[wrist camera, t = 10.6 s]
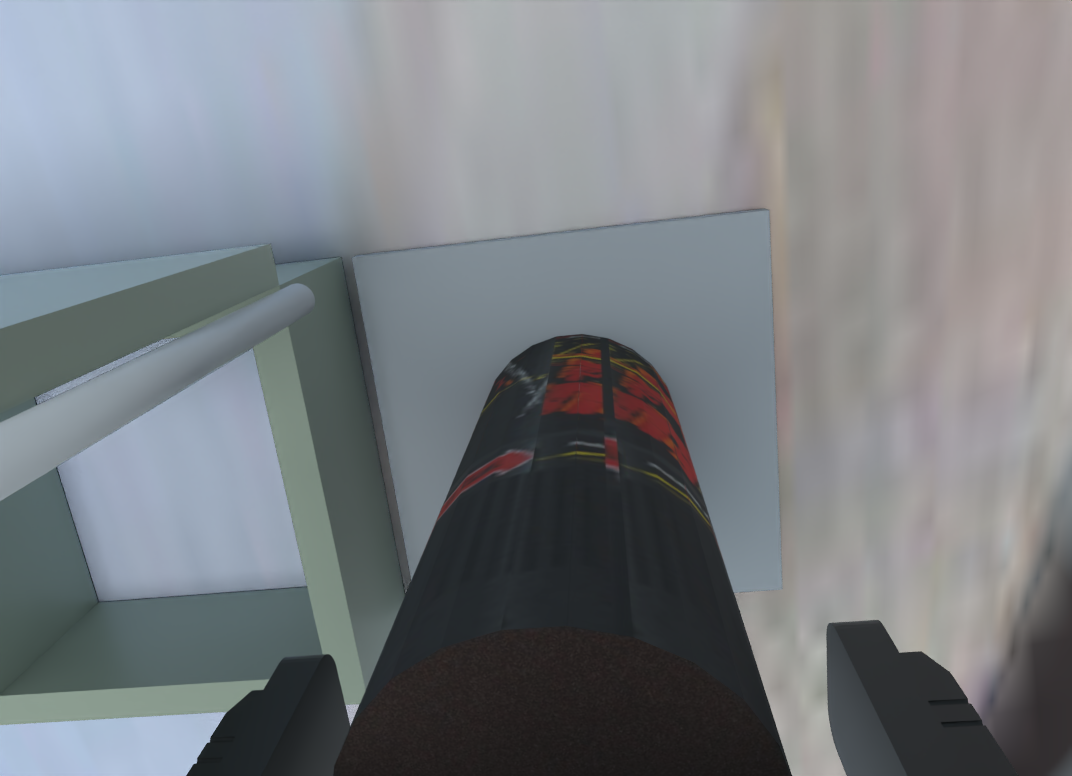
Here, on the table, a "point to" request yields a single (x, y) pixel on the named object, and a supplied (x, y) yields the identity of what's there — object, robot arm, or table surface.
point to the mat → (599, 310)
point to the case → (130, 391)
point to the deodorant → (569, 598)
